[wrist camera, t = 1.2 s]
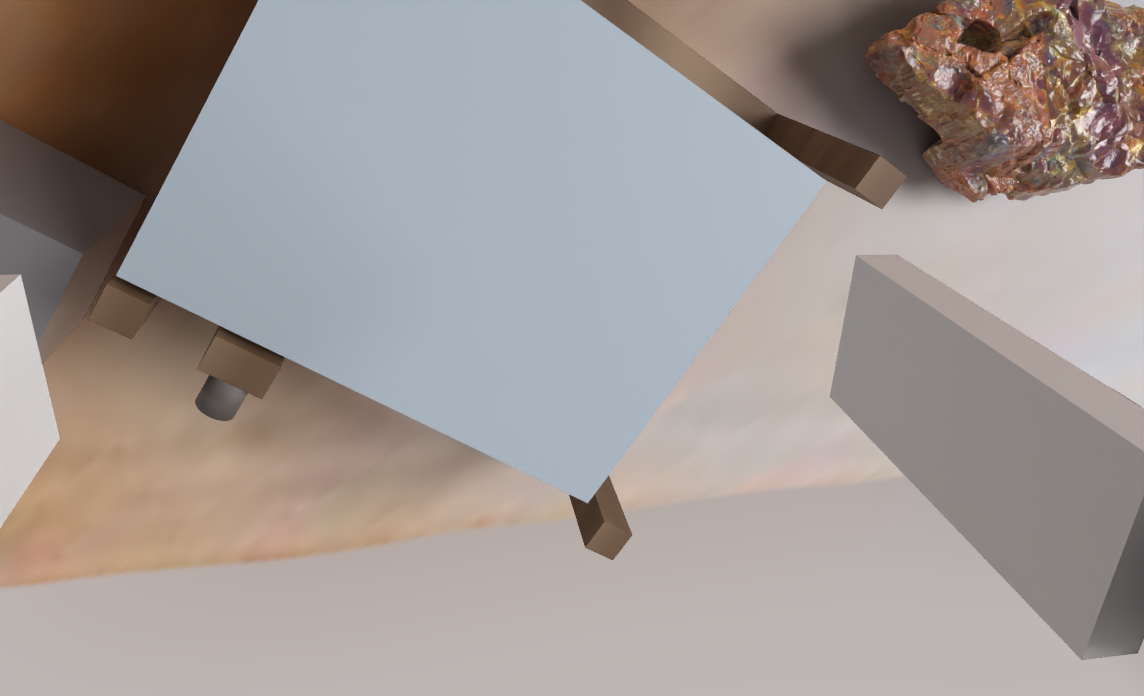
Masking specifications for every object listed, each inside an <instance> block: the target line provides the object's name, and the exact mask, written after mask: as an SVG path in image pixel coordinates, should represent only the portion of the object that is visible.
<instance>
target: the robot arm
mask: <svg viewBox="0 0 1144 696" xmlns="http://www.w3.org/2000/svg"><path fill="white" fill-rule="evenodd" d="M830 397H831V399H832V400H833V401H834V402H835V403H836V404H837V405H838V406H839V407H840V408H841V409H842V410H843V411H844V412H845V413H846V414H847V415H848V416H849V417H850V418H851V419H852V420H853V421H854V423H855V424H856V425H857V426H858V427H859V428H860V429H861V430H862V431H863V432H864V433H865V434H866V435H867V436H868V437H869V438H870V439H871V440H872V441H873V442H874V443H875V444H876V446H877V447H878V448H879V449H880V450H881V451H882V452H883V453H884V454H885V455H886V456H887V457H888V458H889V459H890V460H891V461H892V462H893V463H894V464H895V465H896V466H897V467H898V469H899V470H900V471H901V472H902V473H903V474H904V475H905V476H906V477H907V478H908V479H909V480H910V481H911V482H912V483H913V484H914V485H915V486H916V487H917V488H918V489H919V490H920V492H921V493H922V494H923V495H924V496H925V497H927V499H928V500H929V501H930V502H931V503H932V504H933V505H934V506H935V507H936V508H937V509H938V510H939V511H940V512H941V513H942V514H943V515H944V517H945V518H946V519H947V520H948V521H949V522H950V523H951V524H952V525H953V526H954V527H955V528H956V529H957V530H958V531H959V532H960V533H961V534H962V535H963V536H964V537H965V539H966V540H967V541H969V543H970V544H971V545H972V546H973V547H974V548H975V549H976V550H977V551H978V552H979V553H980V554H981V555H982V556H983V557H984V558H985V559H986V560H987V561H988V563H989V564H990V565H991V566H992V567H993V568H994V569H995V570H996V571H997V572H998V573H999V574H1000V575H1001V576H1002V577H1003V578H1004V579H1005V580H1006V581H1007V582H1008V583H1009V584H1010V585H1011V587H1012V588H1013V589H1014V590H1015V591H1016V592H1017V593H1018V594H1019V595H1020V596H1021V597H1022V598H1023V599H1024V600H1025V601H1026V602H1027V603H1028V604H1029V605H1030V606H1031V607H1032V609H1033V610H1034V611H1035V612H1036V613H1037V614H1038V615H1039V616H1040V617H1041V618H1042V619H1043V620H1044V621H1045V622H1046V623H1047V624H1048V625H1049V626H1050V627H1051V628H1052V629H1053V630H1054V632H1055V633H1056V634H1058V636H1059V637H1061V639H1062V640H1063V641H1064V642H1065V643H1066V644H1067V645H1068V646H1069V647H1070V648H1071V649H1072V650H1073V651H1074V652H1075V653H1076V655H1077V656H1079V658H1080V659H1081V660H1086V659H1094V658H1102V657H1110V656H1118V655H1127V654H1135V653H1138V651H1139V649H1140V646H1141V644H1142V642H1143V639H1144V409H1143V408H1142V407H1141V406H1139V405H1138V404H1136V403H1134V402H1133V401H1131V400H1130V399H1128V398H1126V397H1125V396H1123V395H1122V394H1120V393H1118V392H1117V391H1115V390H1114V389H1112V388H1110V387H1108V386H1106V385H1105V384H1103V383H1102V382H1100V381H1098V380H1097V379H1095V378H1094V377H1092V376H1090V375H1089V374H1087V373H1086V372H1084V371H1082V370H1081V369H1079V368H1078V367H1076V366H1074V365H1073V364H1071V363H1070V362H1068V361H1066V360H1065V359H1063V358H1062V357H1060V356H1058V355H1057V354H1055V353H1054V352H1052V351H1050V350H1049V349H1047V348H1046V347H1044V346H1042V345H1041V344H1039V343H1037V342H1036V341H1034V340H1033V339H1031V338H1029V337H1028V336H1026V335H1025V334H1023V333H1021V332H1020V331H1018V330H1017V329H1015V328H1013V327H1012V326H1010V325H1009V324H1007V323H1005V322H1004V321H1002V320H1001V319H999V318H997V317H996V316H994V315H993V314H991V313H989V312H988V311H986V310H985V309H983V308H981V307H980V306H978V305H977V304H975V303H973V302H972V301H970V300H969V299H967V298H965V297H964V296H962V295H961V294H959V293H957V292H956V291H954V290H953V289H951V288H949V287H948V286H946V285H945V284H943V283H941V282H940V281H938V280H937V279H935V278H933V277H932V276H930V275H929V274H927V273H925V272H924V271H922V270H921V269H919V268H917V267H916V266H914V265H913V264H911V263H909V262H908V261H906V260H905V259H903V258H901V257H900V256H898V255H857V256H856V259H855V264H854V270H853V275H852V280H851V286H850V291H849V296H848V302H847V307H846V313H845V318H844V323H843V329H842V334H841V339H840V345H839V350H838V356H837V361H836V366H835V372H834V377H833V382H832V388H831V393H830ZM59 439H60V437H59V433H58V429H57V425H56V420H55V416H54V412H53V408H52V404H51V399H50V395H49V391H48V387H47V383H46V378H45V374H44V370H43V366H42V362H41V357H40V353H39V349H38V345H37V341H36V336H35V332H34V328H33V324H32V319H31V315H30V311H29V307H28V303H27V298H26V294H25V290H24V286H23V282H22V277H21V274H15V275H0V528H1V526H2V525H3V523H4V522H5V520H6V519H7V517H8V516H9V514H10V513H11V511H12V510H13V508H14V507H15V505H16V504H17V502H18V501H19V499H20V498H21V496H22V495H23V493H24V492H25V490H26V489H27V487H28V486H29V484H30V483H31V481H32V480H33V478H34V477H35V475H36V474H37V472H38V471H39V469H40V468H41V466H42V465H43V463H44V462H45V460H46V459H47V457H48V456H49V454H50V453H51V451H52V450H53V448H54V447H55V445H56V444H57V442H58V441H59Z"/></svg>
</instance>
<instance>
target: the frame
mask: <svg viewBox="0 0 1144 696" xmlns="http://www.w3.org/2000/svg"><path fill="white" fill-rule="evenodd" d="M581 1H582V2H584V3H585V4H587V5H588V6H589V7H591V8H592V9H593V10H595V11H596V12H597V13H599V14H600V15H601V16H603V17H604V18H606V19H607V20H608V21H610V22H611V23H612V24H614V25H615V26H616V27H618V28H619V29H620V30H622V31H623V32H625V33H626V34H627V35H629V36H630V37H631V38H633V39H634V40H635V41H637V42H638V43H640V44H641V45H642V46H644V47H645V48H646V49H648V50H649V51H650V52H652V53H653V54H654V55H656V56H657V57H659V58H660V59H661V60H663V61H664V62H665V63H667V64H668V65H669V66H671V67H672V68H673V69H675V70H676V71H678V72H679V73H680V74H682V75H683V76H684V77H686V78H687V79H688V80H690V81H691V82H692V83H694V84H695V85H697V86H698V87H699V88H701V89H702V90H703V91H705V92H706V93H707V94H709V95H710V96H712V97H713V98H714V99H716V100H717V101H718V102H720V103H721V104H722V105H724V106H725V107H726V108H728V109H729V110H731V111H732V112H733V113H735V114H736V115H737V116H739V117H740V118H741V119H743V120H744V121H745V122H747V123H748V124H750V125H751V126H752V127H754V128H755V129H756V130H758V131H759V132H760V133H762V134H763V135H764V136H766V137H767V138H769V139H770V140H771V141H773V142H774V143H775V144H777V145H778V146H779V147H781V148H782V149H783V150H785V151H786V152H788V153H789V154H790V155H792V156H793V157H794V158H796V159H797V160H798V161H800V162H801V163H803V164H804V165H805V166H807V167H808V168H809V169H811V170H812V171H813V172H815V173H816V174H817V175H819V176H820V177H822V178H823V179H825V180H827V181H829V182H831V183H833V184H835V185H836V186H838V187H840V188H842V189H844V190H846V191H848V192H850V193H852V194H854V195H856V196H858V197H860V198H861V199H863V200H865V201H867V202H869V203H871V204H873V205H875V206H877V207H879V208H881V209H883V207H884V206H885V205H886V204H887V202H888V201H889V200H890V198H891V197H892V196H893V194H894V193H895V192H896V190H897V189H898V188H899V187H900V185H901V184H902V183H903V181H904V180H905V179H906V177H907V176H906V175H905V174H903V173H902V172H901V171H899V170H898V169H897V168H896V167H894V166H893V165H892V164H890V163H889V162H888V161H887V160H885V159H884V158H883V157H881V156H880V155H878V154H875V153H873V152H870V151H868V150H865V149H863V148H860V147H858V146H855V145H853V144H851V143H848V142H846V141H843V140H841V139H838V138H836V137H833V136H831V135H829V134H826V133H824V132H821V131H819V130H816V129H814V128H811V127H809V126H806V125H804V124H802V123H799V122H797V121H794V120H792V119H789V118H787V117H784V116H782V115H780V114H777V113H776V112H775V111H773V110H772V109H771V108H770V107H768V106H767V105H766V104H764V103H763V102H762V101H760V100H759V99H758V98H756V97H755V96H754V95H752V94H751V93H750V92H748V91H747V90H746V89H744V88H743V87H742V86H740V85H739V84H738V83H736V82H735V81H734V80H732V79H731V78H730V77H728V76H727V75H726V74H724V73H723V72H722V71H720V70H719V69H718V68H716V67H715V66H714V65H712V64H711V63H710V62H709V61H707V60H706V59H705V58H703V57H702V56H701V55H699V54H698V53H697V52H695V51H694V50H693V49H691V48H690V47H689V46H687V45H686V44H685V43H683V42H682V41H681V40H679V39H678V38H677V37H675V36H674V35H673V34H671V33H670V32H669V31H667V30H666V29H665V28H663V27H662V26H661V25H659V24H658V23H657V22H655V21H654V20H653V19H651V18H650V17H649V16H648V15H646V14H645V13H644V12H642V11H641V10H640V9H638V8H637V7H636V6H634V5H633V4H632V3H630V2H629V1H628V0H581ZM117 273H118V272H117ZM117 273H116V275H117ZM116 275H115V276H114V277H113V278H112V279H111V280H110V281H109V282H108V283H107V284H106V286H105V288H104V290H103V292H102V294H101V296H100V298H99V300H98V302H97V304H96V306H95V308H94V310H93V312H92V313H91V315H90V317H89V320H91V321H93V322H95V323H98V324H100V325H102V326H104V327H106V328H108V329H111V330H113V331H115V332H117V333H119V334H121V335H124V336H126V337H128V338H130V339H132V338H133V337H134V335H135V334H136V332H137V331H138V330H139V328H140V327H141V326H142V324H143V323H144V321H145V320H146V319H147V317H148V316H149V315H150V313H151V312H152V310H153V309H154V308H155V306H156V305H157V304H158V302H159V301H160V299H161V297H159V296H157V295H155V294H153V293H151V292H149V291H147V290H145V289H143V288H140V287H138V286H136V285H134V284H132V283H130V282H128V281H126V280H124V279H122V278H120V277H118V276H116ZM283 359H284V357H283V356H281V355H279V354H277V353H275V352H273V351H271V350H269V349H267V348H265V347H263V346H261V345H259V344H256V343H254V342H252V341H250V340H248V339H246V338H244V337H242V336H240V335H238V334H236V333H234V332H232V331H230V330H227V329H225V328H223V327H221V326H219V327H218V329H217V331H216V333H215V335H214V337H213V339H212V341H211V343H210V345H209V347H208V349H207V351H206V353H205V354H204V356H203V358H202V360H201V362H200V364H199V366H198V368H197V369H198V370H200V371H202V372H204V373H206V374H209V377H208V379H207V381H206V382H205V384H204V386H203V388H202V389H201V391H200V393H199V395H198V396H197V398H196V400H195V404H196V406H197V408H198V409H199V410H200V411H201V412H202V413H204V414H205V415H207V416H209V417H211V418H213V419H216V420H221V421H228V420H231V419H233V417H234V416H235V414H236V412H237V411H238V409H239V407H240V405H241V404H242V402H243V400H244V399H245V397H246V395H247V394H248V393H250V394H252V395H254V396H256V397H259V398H261V399H262V398H263V397H264V395H265V393H266V392H267V390H268V388H269V386H270V385H271V383H272V381H273V380H274V378H275V376H276V375H277V373H278V371H279V370H280V368H281V365H282V362H283ZM569 496H570V499H571V503H572V506H573V509H574V513H575V516H576V519H577V522H578V526H579V529H580V532H581V535H582V538H583V542H584V545H585V547H586V548H587V549H589V550H592V551H594V552H596V553H598V554H600V555H603V556H605V557H607V558H609V559H611V560H613V559H614V558H615V556H617V554H618V553H619V552H620V550H621V549H622V548H623V546H624V545H625V544H626V542H627V541H628V540H629V539H630V537H631V536H632V533H631V530H630V528H629V526H628V523H627V521H626V518H625V515H624V513H623V510H622V508H621V505H620V503H619V500H618V498H617V495H616V493H615V490H614V488H613V485H612V482H611V480H610V477H609V475H608V477H607V478H606V480H605V481H604V482H603V484H602V485H601V486H600V488H599V489H598V490H597V492H596V493H595V494H594V496H593V497H592V498H591V500H590V501H589V502H588V503H586V502H584V501H582V500H580V499H578V498H576V497H574V496H571V495H569Z"/></svg>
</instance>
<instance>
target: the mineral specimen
mask: <svg viewBox="0 0 1144 696" xmlns="http://www.w3.org/2000/svg"><path fill="white" fill-rule="evenodd" d="M957 41H958V42H960V43H958V42H957ZM865 60H866V63H867V65H868V66H869V67H870V68H871V69H872V70H873V71H874V72H877V73H876V77H877V79H879V80H881V82H882V83H883V84H885V85H886V86H887V87H888V88H890V89H891V90H892V91H893V92H895V94H896V95H898V96H899V98H898V99H899V100H900V101H901V102H906V103H907V104H909V105H911V106H912V107H913V108H914V109H915V110H914V111H915V112H918V114H919V115H918V118H920V119H921V120H922V121H924V122H925V123H926V124H928V125H929V126H931V127H932V128H933V129H934V130H935V131H936V132H937V133H938V134H939V135H940V138H941V140H938V142H936V143H934V144H933V145H932V146H930V147H929V148H928V149H927V150H925V151H924V153H923V156H922V157H923V158H924V160H925V162H926V163H927V164H928V165H929V167H930V168H931V169H932V170H933V172H934V174H935V176H936V177H937V178H938V179H939V181H940V182H941V183H943V184H944V185H945V186H946V187H948V188H950V189H953V190H955V191H957V192H958V193H960V194H961V195H964V196H965V197H967V198H968V199H969V200H970V201H972V202H976V201H977V200H978V199H979V200H983V198H984V197H985V195H986V194H989V193H990V194H991V195H997V194H998V193H1004V194H1006V196H1007V198H1008V199H1009V200H1014V199H1016V200H1027V199H1029V198H1031V197H1033V196H1035V195H1040V196H1044V195H1048V194H1049V193H1055V192H1060V191H1067V190H1069V189H1071V188H1073V187H1075V186H1077V185H1079V184H1091V183H1093V182H1094V181H1095V180H1097V179H1111V178H1118V177H1122V176H1123V175H1125V174H1126V173H1128V172H1129V171H1131V170H1133V169H1142V168H1144V8H1141V7H1136V6H1135V5H1132V6H1129V7H1124V8H1123V7H1122V6H1120V5H1119V4H1116V3H1112V2H1109V1H1106V0H945V1H943V2H941V3H940V4H938V5H937V7H936V8H935V11H934V13H929V12H928V13H927V12H926V13H924V14H920V15H918V16H916V17H914V18H913V19H911V21H910V23H908V24H907V26H906V27H904V28H903V29H901V30H897V29H896V30H894V31H891V32H888V33H886V34H884V35H883V36H881V38H880V40H879V41H875V42H873V44H872V45H871V46H870V47H869V49H868V51H867V53H866V54H865Z"/></svg>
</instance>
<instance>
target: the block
mask: <svg viewBox="0 0 1144 696" xmlns="http://www.w3.org/2000/svg"><path fill="white" fill-rule="evenodd" d="M145 198H146V195H144V194H142V193H140V192H138V191H136V190H134V189H132V188H130V187H128V186H126V185H125V184H123V183H121V182H119V181H117V180H115V179H113V178H111V177H109V176H107V175H105V174H103V173H102V172H100V171H98V170H96V169H94V168H92V167H90V166H88V165H86V164H84V163H82V162H80V161H79V160H77V159H75V158H73V157H71V156H69V155H67V154H65V153H63V152H61V151H59V150H57V149H56V148H54V147H52V146H50V145H48V144H46V143H44V142H42V141H40V140H38V139H36V138H34V137H33V136H31V135H29V134H27V133H25V132H23V131H21V130H19V129H17V128H15V127H13V126H11V125H10V124H8V123H6V122H4V121H2V120H0V275H15V274H21V277H22V282H23V286H24V290H25V294H26V298H27V303H28V307H29V311H30V315H31V319H32V324H33V328H34V332H35V336H36V341H37V345H38V349H39V353H40V357H41V362H42V364H43V363H44V362H45V361H46V359H47V358H48V357H49V356H50V355H51V354H52V353H53V352H54V351H55V349H56V348H57V347H58V346H59V345H60V344H61V343H62V342H63V341H64V339H65V338H66V337H67V336H68V335H69V334H70V333H71V332H72V331H73V329H74V328H75V327H76V326H77V325H78V324H79V323H80V322H81V321H82V319H83V318H84V317H85V315H86V313H87V311H88V309H89V307H90V305H91V303H92V301H93V299H94V297H95V295H96V294H97V292H98V290H99V288H100V286H101V284H102V282H103V280H104V278H105V276H106V274H107V272H108V270H109V268H110V266H111V264H112V262H113V260H114V258H115V257H116V255H117V253H118V251H119V249H120V247H121V245H122V243H123V241H124V239H125V237H126V235H127V233H128V231H129V229H130V227H131V225H132V223H133V221H134V220H135V218H136V216H137V214H138V212H139V210H140V208H141V206H142V204H143V202H144V200H145Z"/></svg>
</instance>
